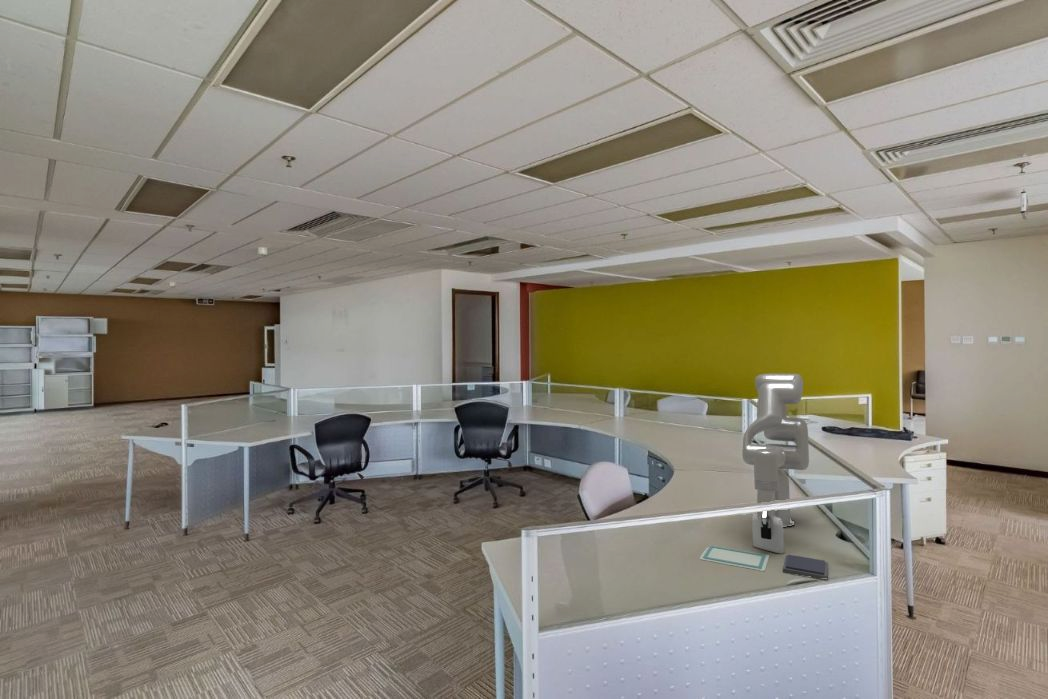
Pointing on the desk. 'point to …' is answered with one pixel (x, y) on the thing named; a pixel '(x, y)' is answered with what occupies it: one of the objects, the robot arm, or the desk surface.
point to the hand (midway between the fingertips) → (767, 534)
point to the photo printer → (776, 535)
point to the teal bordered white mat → (735, 557)
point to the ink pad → (805, 566)
